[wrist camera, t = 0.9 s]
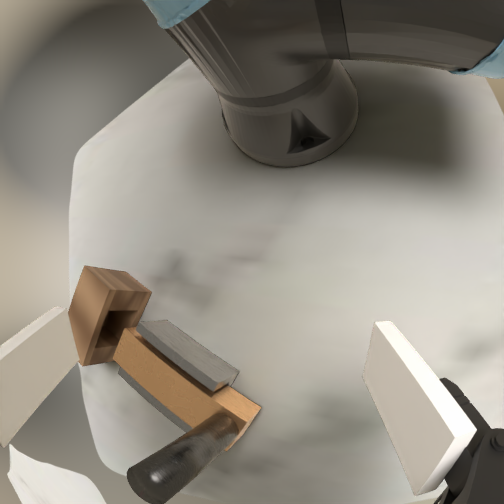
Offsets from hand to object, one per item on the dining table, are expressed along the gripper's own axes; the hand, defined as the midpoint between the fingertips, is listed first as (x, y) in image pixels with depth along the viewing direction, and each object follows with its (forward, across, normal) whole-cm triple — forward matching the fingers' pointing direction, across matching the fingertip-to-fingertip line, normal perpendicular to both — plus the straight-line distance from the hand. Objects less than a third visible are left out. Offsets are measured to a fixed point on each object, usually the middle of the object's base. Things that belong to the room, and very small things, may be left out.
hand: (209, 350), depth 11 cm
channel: (+17, -6, -13) cm, 22 cm away
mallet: (+15, -5, -13) cm, 20 cm away
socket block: (+21, -15, -10) cm, 28 cm away
